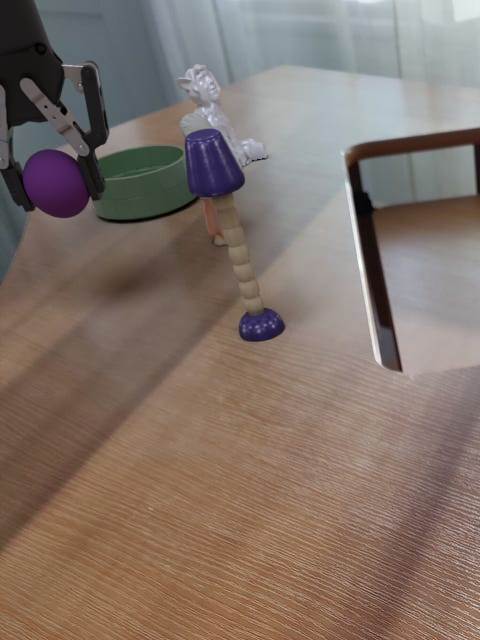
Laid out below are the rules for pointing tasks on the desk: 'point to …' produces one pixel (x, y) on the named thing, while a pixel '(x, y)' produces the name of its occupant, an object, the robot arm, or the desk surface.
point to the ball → (55, 183)
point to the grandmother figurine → (210, 211)
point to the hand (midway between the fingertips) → (64, 202)
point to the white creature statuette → (218, 113)
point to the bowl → (143, 182)
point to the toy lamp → (229, 223)
